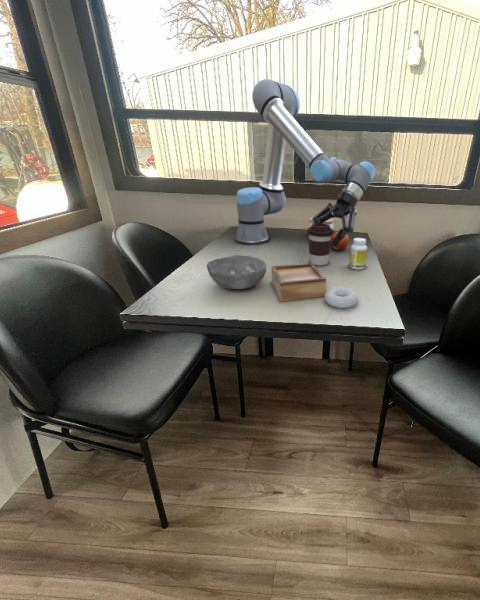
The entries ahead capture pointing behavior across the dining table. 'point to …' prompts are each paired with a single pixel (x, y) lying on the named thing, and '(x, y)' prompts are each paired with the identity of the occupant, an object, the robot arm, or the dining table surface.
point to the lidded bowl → (328, 222)
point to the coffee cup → (319, 243)
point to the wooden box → (298, 281)
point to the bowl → (237, 271)
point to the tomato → (342, 243)
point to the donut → (341, 297)
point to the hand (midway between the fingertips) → (321, 241)
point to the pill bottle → (358, 253)
